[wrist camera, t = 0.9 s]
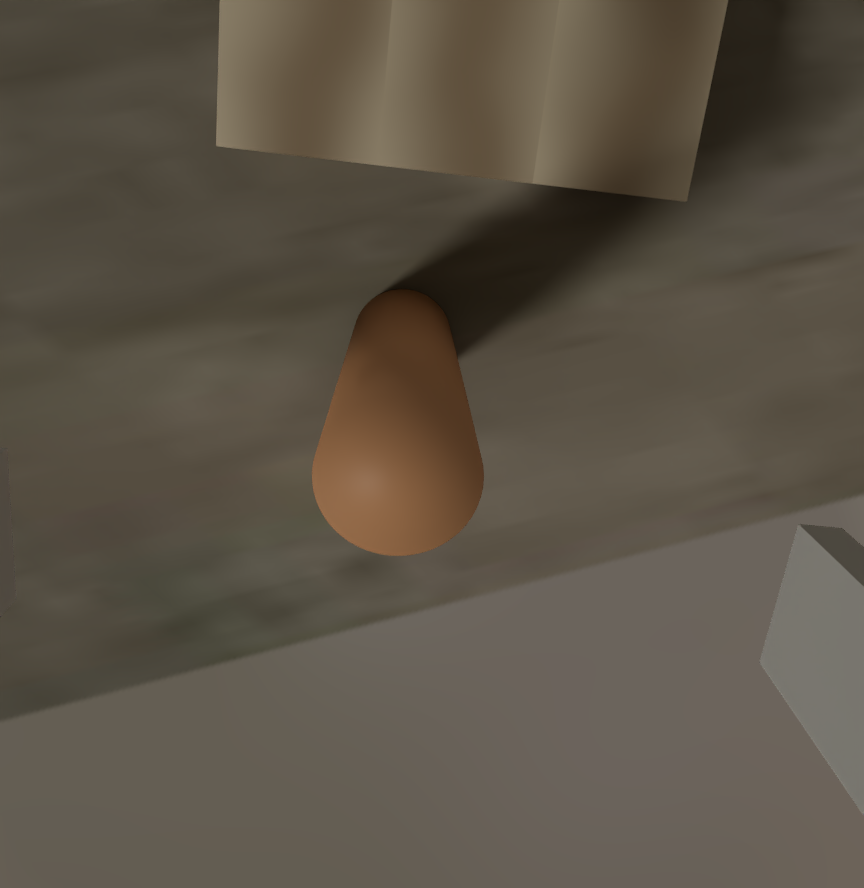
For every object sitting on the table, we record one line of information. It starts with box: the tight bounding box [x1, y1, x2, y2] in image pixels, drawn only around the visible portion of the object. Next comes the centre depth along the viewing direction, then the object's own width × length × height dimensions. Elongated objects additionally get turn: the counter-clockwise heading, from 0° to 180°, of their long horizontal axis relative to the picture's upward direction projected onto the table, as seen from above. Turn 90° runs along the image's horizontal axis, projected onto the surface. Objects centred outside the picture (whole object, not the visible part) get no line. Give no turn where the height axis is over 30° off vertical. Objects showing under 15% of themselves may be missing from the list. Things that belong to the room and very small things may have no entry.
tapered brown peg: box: [312, 289, 484, 556], centre depth 24 cm, size 4×4×14 cm
